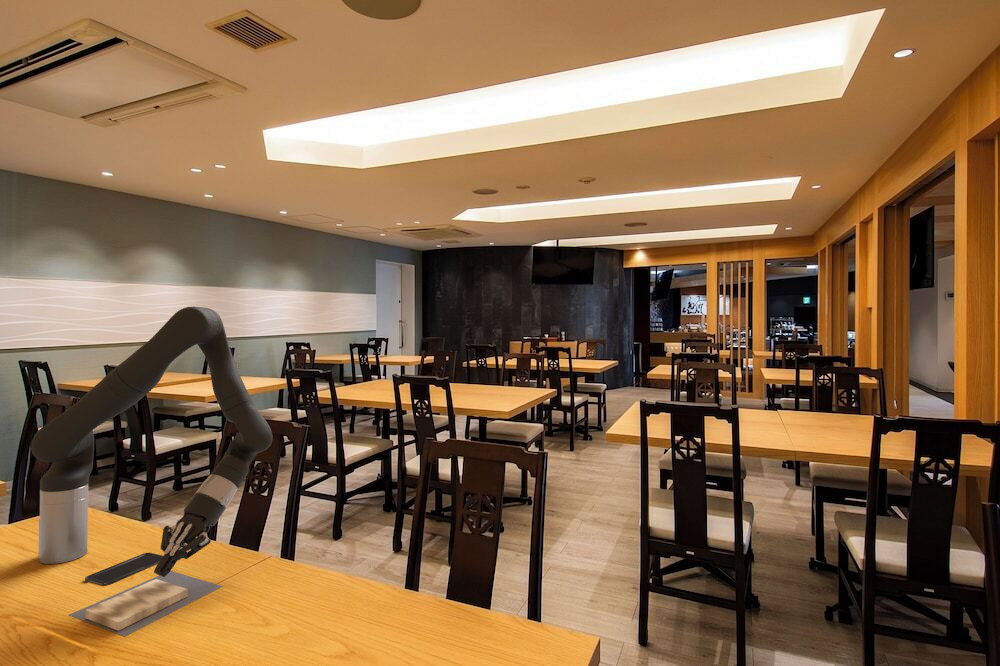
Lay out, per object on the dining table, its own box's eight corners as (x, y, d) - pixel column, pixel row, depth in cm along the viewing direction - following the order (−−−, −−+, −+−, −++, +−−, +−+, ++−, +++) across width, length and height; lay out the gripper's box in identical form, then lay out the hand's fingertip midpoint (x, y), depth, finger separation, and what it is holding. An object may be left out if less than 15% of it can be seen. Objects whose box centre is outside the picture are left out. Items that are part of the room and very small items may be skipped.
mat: (68, 616, 106) (68, 614, 106) (170, 572, 125) (170, 570, 125) (124, 638, 99) (124, 636, 99) (223, 588, 118) (223, 586, 118)
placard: (155, 587, 117) (85, 619, 104) (155, 579, 117) (85, 609, 104) (187, 597, 113) (118, 631, 100) (187, 588, 113) (118, 622, 100)
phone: (82, 578, 120) (147, 551, 134) (82, 583, 120) (147, 556, 134) (106, 584, 117) (170, 557, 131) (106, 589, 117) (170, 561, 131)
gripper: (181, 487, 124) (125, 561, 113) (222, 495, 119) (168, 574, 108) (201, 503, 129) (149, 575, 118) (242, 512, 124) (192, 588, 113)
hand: (159, 574), depth 113 cm, fingers closed
